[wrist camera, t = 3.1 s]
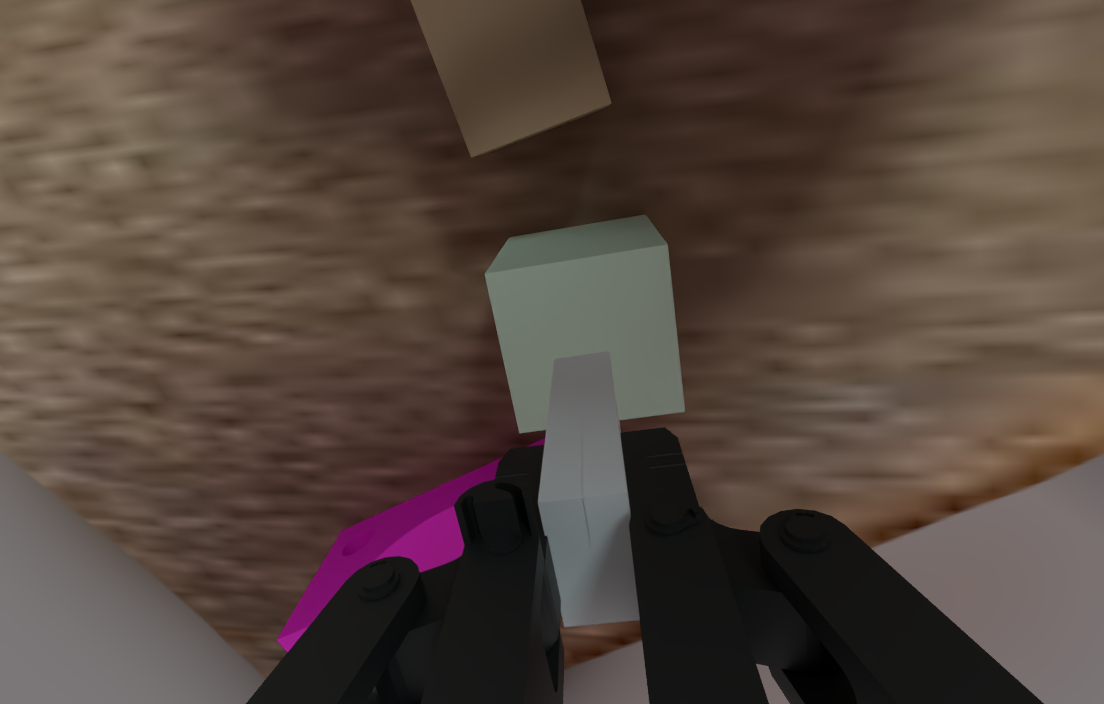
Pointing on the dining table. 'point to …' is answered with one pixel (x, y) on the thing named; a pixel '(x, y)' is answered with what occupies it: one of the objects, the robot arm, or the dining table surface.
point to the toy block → (390, 544)
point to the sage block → (588, 314)
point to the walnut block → (513, 66)
